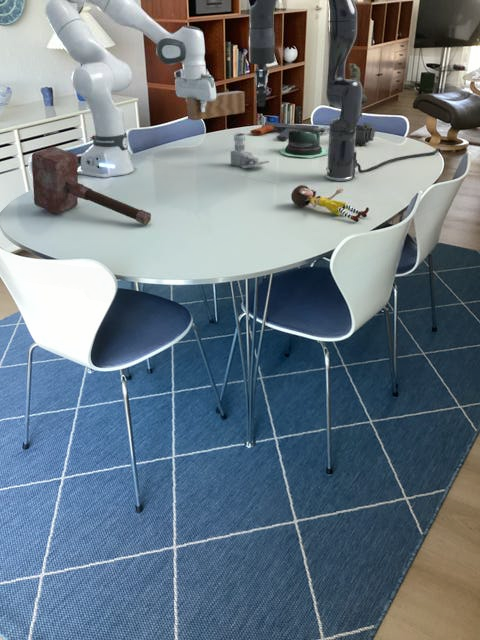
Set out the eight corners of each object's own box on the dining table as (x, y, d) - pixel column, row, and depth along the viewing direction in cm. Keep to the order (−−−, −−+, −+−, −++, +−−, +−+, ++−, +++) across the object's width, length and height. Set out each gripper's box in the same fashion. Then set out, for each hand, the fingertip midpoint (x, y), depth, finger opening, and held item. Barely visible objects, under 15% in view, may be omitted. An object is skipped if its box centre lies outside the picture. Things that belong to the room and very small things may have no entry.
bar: (194, 120, 219) (193, 98, 215) (187, 118, 223) (186, 97, 219) (244, 112, 233) (244, 91, 229) (237, 111, 236) (237, 90, 232)
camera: (240, 131, 219) (270, 136, 210) (241, 161, 225) (269, 168, 216) (225, 135, 213) (254, 141, 204) (226, 165, 219) (254, 172, 210)
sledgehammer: (159, 186, 162) (53, 145, 173) (139, 196, 154) (29, 152, 166) (154, 239, 172) (54, 196, 183) (135, 250, 164) (32, 205, 176)
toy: (345, 120, 249) (377, 123, 242) (343, 139, 253) (375, 143, 246) (337, 123, 243) (369, 127, 236) (336, 143, 247) (367, 147, 240)
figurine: (354, 211, 157) (283, 185, 169) (349, 235, 161) (280, 207, 174) (376, 199, 166) (307, 175, 178) (371, 222, 170) (303, 197, 182)
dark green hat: (332, 145, 241) (326, 158, 224) (294, 164, 249) (286, 177, 233) (317, 113, 235) (310, 124, 219) (279, 133, 244) (269, 145, 228)
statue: (367, 132, 266) (374, 63, 251) (349, 133, 264) (355, 64, 249) (357, 127, 275) (362, 61, 260) (339, 129, 273) (344, 62, 258)
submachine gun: (244, 131, 261) (267, 121, 279) (244, 137, 262) (267, 127, 281) (306, 137, 247) (327, 126, 266) (306, 143, 248) (326, 132, 267)
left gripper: (219, 74, 210) (220, 112, 217) (183, 70, 222) (185, 107, 229) (207, 76, 206) (209, 115, 213) (171, 72, 218) (174, 109, 225)
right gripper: (274, 47, 156) (273, 108, 164) (274, 43, 168) (274, 100, 177) (247, 47, 157) (248, 108, 165) (250, 43, 169) (250, 100, 177)
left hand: (196, 111), depth 221 cm, fingers closed on bar, 5 cm apart
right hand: (261, 103), depth 171 cm, fingers open, 8 cm apart
